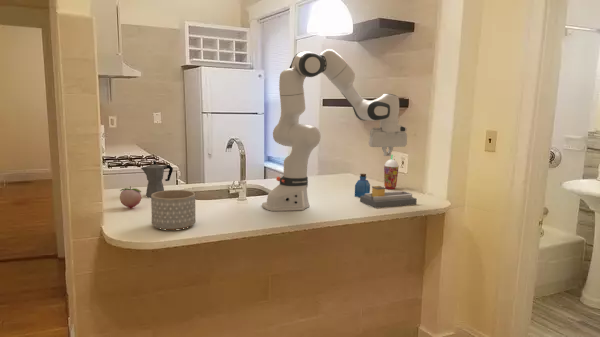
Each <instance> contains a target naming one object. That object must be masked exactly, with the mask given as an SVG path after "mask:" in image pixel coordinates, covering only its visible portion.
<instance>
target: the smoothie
mask: <svg viewBox="0 0 600 337" xmlns="http://www.w3.org/2000/svg"><path fill="white" fill-rule="evenodd" d="M393 156H394V155H393V154H391V156H390V159H387V160H386V161H385V163H384V164H383V168H384V169H383V175H384V177H383V178H384V180H383V181H384V183H383V184H384V186H383V187H384V188H385V190H395V189H396V188H397V182H398V174H399V167H400V165H399V164H398V162H397V160H395V159H393Z"/></svg>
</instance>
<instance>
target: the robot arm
mask: <svg viewBox="0 0 600 337" xmlns="http://www.w3.org/2000/svg"><path fill="white" fill-rule="evenodd" d="M320 74H323V75H325V77H327V79H328V80H329V81H330V83H332V84H333V85H334V86H335V88H337V90H338V91H340V93H341V95H343V97H344V98H345V99H346V101H348V103H349V104H350V106H351V107H352V110H353V112H354V115H355V117H356V118H357V119H358V120H360V121H362V122H363V121H371V122H372V121H374V122H377V121H379V127H373V128H371V129H370V131H369V141H368V145H369V147H371V148H381V150H382V151H383V156H384V157H391V155H392V151H394V147H395V148H399V147H402V148H403V147H404V148H405V147H406V146H407V145H408V134H407V131H408V127H406V126H404V125H401V124H399V114H400V99H399V97H398V96H397V95H396V94H393V93H392V94H391V93H383V94H382V95H381V96H379V97H377V98H375V99H372V100H369V99H365V98H363V97H362V95H360V93H359V92H358V91H357V89H356V88H355V87H354V84H353V83H354V82H355V78H356V74H355V71H354V69H353V68H352V66H350V64H349V63H348V62H347V61H346V60H345V59H344V57H342V56H341V55H340V54H339V53H337V52H336V50H334V49H330V48H328V49H325V50H323V51H322V52H321V53H317V52H313V51H309V50H303V51H300V52H298V53H296V54H295V55H294V57H293V58H292V60H291V64H290V66H289V68H286V69H284V70H283V71H281V72H280V75H279V79H278V80H279V82H278V84H279V85H278V86H279V87H278V89H279V90H278V92H279V99H280V111H281V112H280V118H279V121H278V123H277V125H275V126H274V128H273V131H272V136H273V138H272V139H273V140H274V142H275V143H276V144H278V145H281V146H285V147H291V152H290V154H289V155H288V156H287V157H285V158H284V160H283V175H282V176H276V181H277V182H279V184H278V185H277V186H276V187H274V188H273V189H272V190H270V191H269V192H268V194H267V197H266V201H265V202H262V204H261V207H262V208H263V209H265V210H268V211H271V212H281V211H282V212H283V211H285V212H286V211H288V212H289V211H304V210H305V209H307V208H309V207H310V202H309V198H308V196H309V195H308V186H309V183H308V182H309V181H308V180H309V178H308V163H309V158H310V155H311V153H312V151H313V150H314V149H315V148H316V147H317V146H318V145H319V144H320V141H321V132H320V130H319V128H318V127H316V126H314V125H310V124H306V123H305V124H304V123H300V122H299V120H300V117H301V115H303V113H304V112H305V111H306V99H305V90H304V82H305V79H306V77H307V78H315V77H317V76H318V75H320ZM387 149H388V151H387Z"/></svg>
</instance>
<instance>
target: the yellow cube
mask: <svg viewBox="0 0 600 337" xmlns="http://www.w3.org/2000/svg"><path fill="white" fill-rule="evenodd" d="M371 190H372V191H371V193H372V197H377V196H385V192H386V188H385V186H381V185H374V186H373V185H372V186H371Z"/></svg>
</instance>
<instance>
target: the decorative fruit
mask: <svg viewBox="0 0 600 337" xmlns="http://www.w3.org/2000/svg"><path fill="white" fill-rule="evenodd" d="M119 192H120V195H119V201H120V203H121V204H122V205H123V206H124V207H127V208H129V209H132V208H134V207H137V206H138V205H139V204H140V202H141V201H142V191H141V190H140V189H138V188H131V186H130V185H129V188H128V187H126V188H122V189H119Z"/></svg>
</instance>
